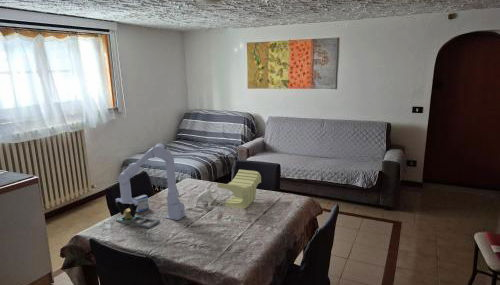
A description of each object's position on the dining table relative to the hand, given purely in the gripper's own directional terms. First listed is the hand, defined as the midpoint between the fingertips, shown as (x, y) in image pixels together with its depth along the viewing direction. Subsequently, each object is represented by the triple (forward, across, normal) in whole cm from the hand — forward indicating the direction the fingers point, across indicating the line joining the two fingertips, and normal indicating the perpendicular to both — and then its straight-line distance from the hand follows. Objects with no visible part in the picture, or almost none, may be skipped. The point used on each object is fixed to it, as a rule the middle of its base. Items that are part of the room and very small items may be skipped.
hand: (128, 215), depth 195 cm
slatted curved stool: (+3, -52, -44) cm, 68 cm away
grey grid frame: (+3, -7, 0) cm, 8 cm away
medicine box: (+3, +2, -14) cm, 15 cm away
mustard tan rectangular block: (+3, 0, 0) cm, 3 cm away
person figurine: (+3, -31, -37) cm, 49 cm away
